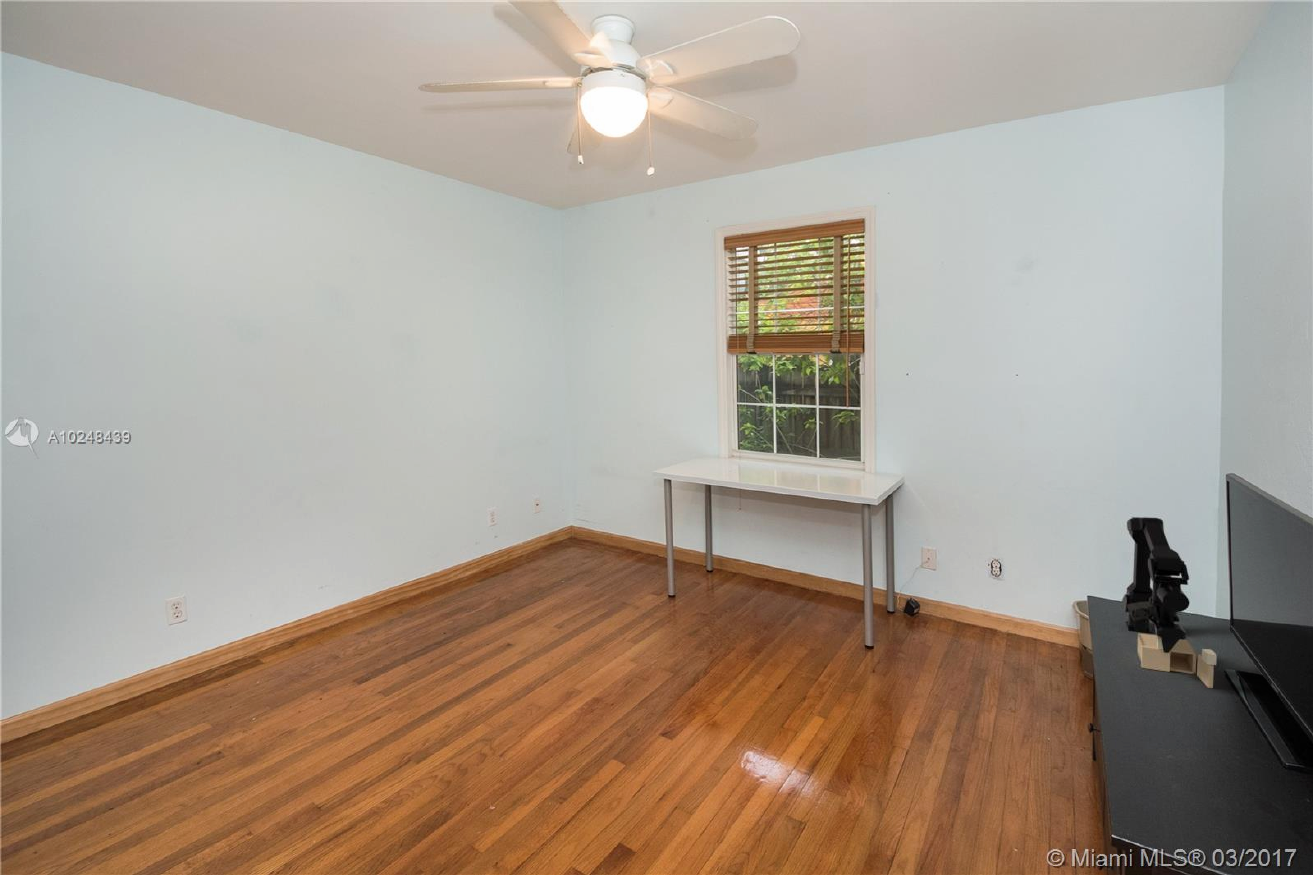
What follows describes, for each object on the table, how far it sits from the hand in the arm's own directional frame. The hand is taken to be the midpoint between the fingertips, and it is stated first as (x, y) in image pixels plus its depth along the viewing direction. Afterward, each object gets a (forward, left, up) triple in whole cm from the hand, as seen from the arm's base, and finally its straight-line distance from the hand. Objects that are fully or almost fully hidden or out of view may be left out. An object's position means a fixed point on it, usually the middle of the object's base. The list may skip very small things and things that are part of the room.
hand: (1163, 647), depth 176 cm
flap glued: (0, -2, -7) cm, 7 cm away
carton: (-5, +1, -7) cm, 9 cm away
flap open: (+3, +9, -7) cm, 12 cm away
